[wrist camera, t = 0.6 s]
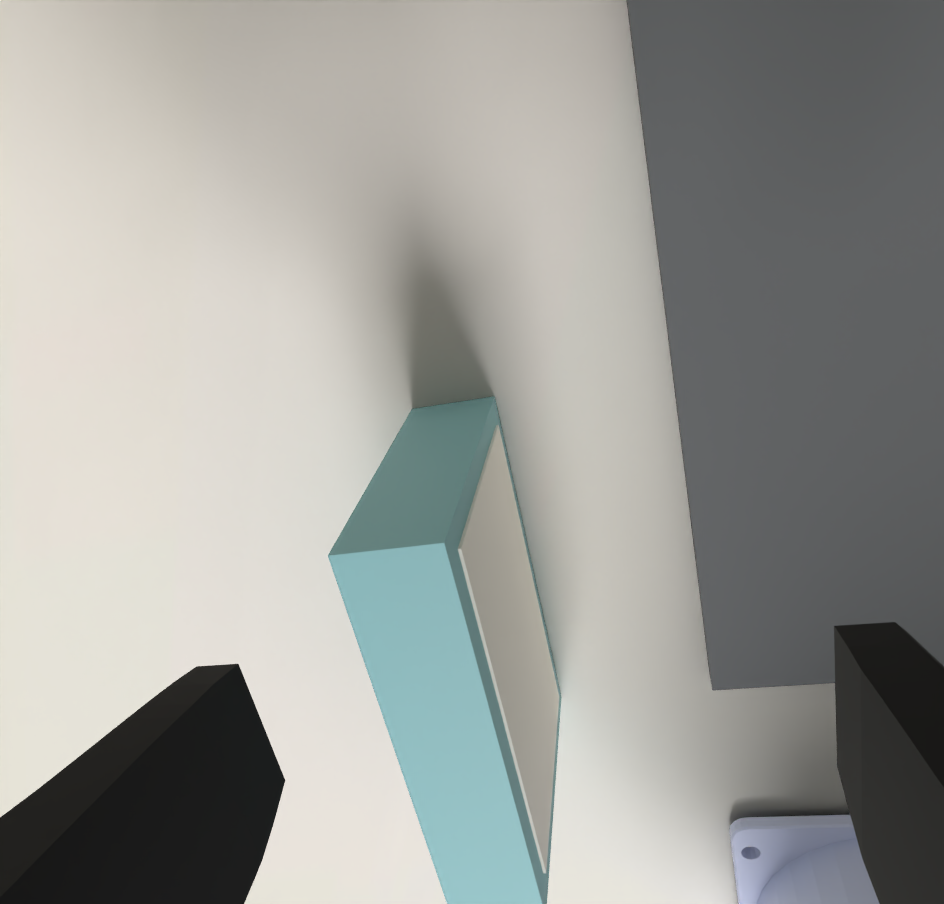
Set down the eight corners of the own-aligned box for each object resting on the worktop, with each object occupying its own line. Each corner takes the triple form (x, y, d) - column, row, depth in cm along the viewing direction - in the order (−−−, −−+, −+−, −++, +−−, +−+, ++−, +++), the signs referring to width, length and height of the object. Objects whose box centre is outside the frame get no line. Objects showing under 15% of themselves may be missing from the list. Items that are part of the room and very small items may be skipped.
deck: (563, 695, 22) (548, 917, 16) (491, 699, 22) (451, 916, 16) (497, 394, 18) (448, 542, 12) (412, 407, 19) (327, 555, 13)
